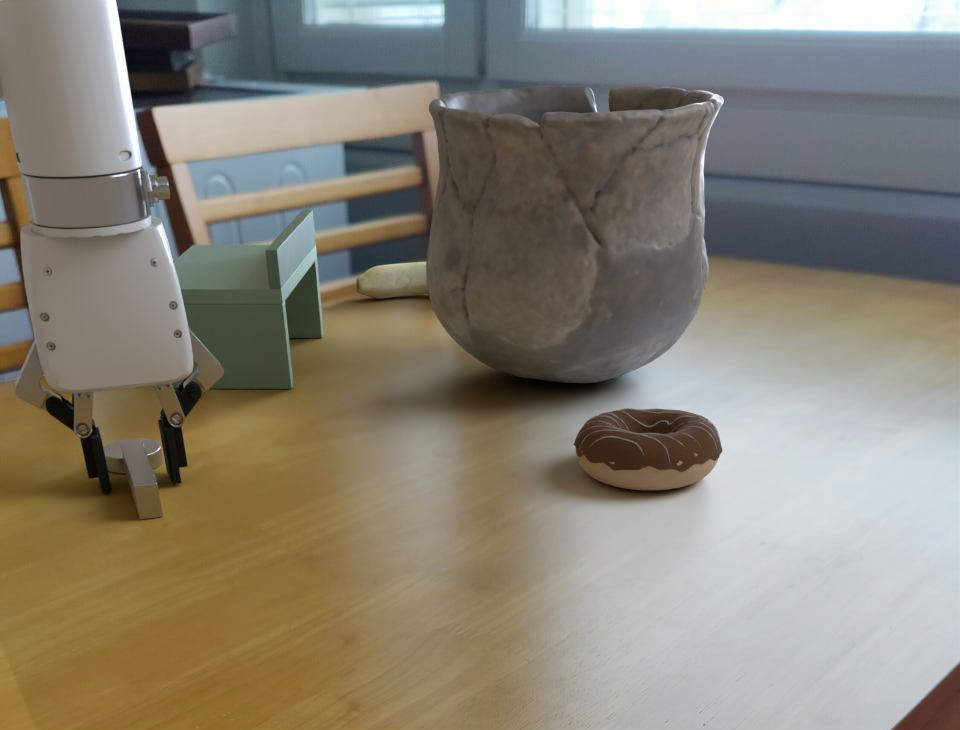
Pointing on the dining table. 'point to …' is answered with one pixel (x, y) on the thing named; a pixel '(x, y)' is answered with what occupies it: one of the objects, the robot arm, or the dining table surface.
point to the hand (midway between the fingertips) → (139, 479)
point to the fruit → (393, 280)
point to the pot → (569, 226)
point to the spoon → (138, 471)
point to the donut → (648, 448)
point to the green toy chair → (253, 304)
